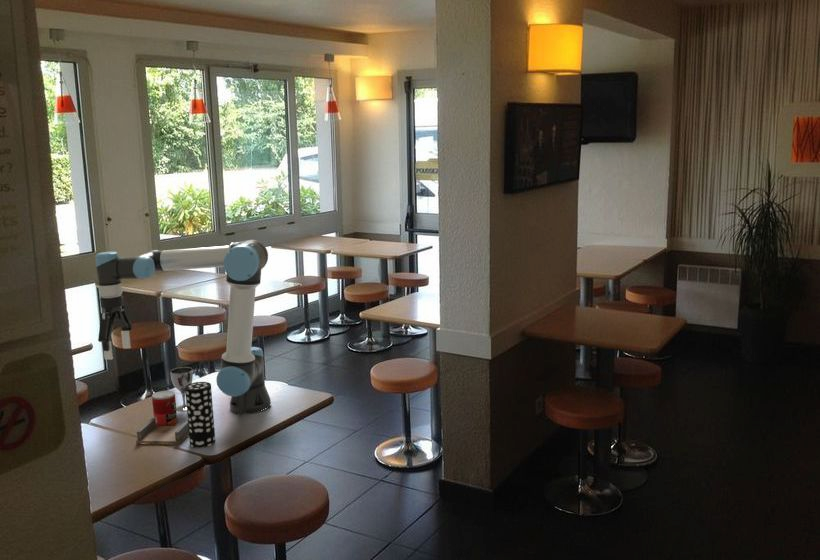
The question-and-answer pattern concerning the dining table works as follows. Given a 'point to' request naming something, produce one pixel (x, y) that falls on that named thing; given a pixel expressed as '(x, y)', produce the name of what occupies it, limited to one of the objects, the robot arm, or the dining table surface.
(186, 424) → the holder
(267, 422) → the dining table surface
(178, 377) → the wine glass
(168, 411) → the canned food
